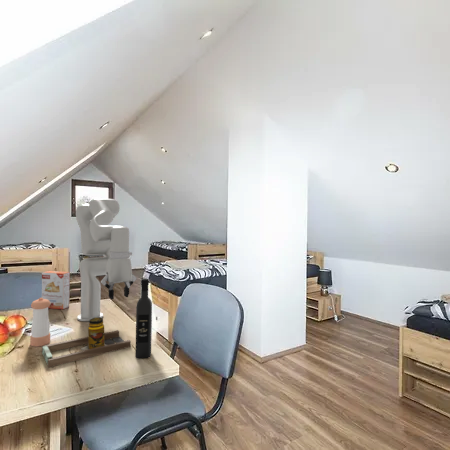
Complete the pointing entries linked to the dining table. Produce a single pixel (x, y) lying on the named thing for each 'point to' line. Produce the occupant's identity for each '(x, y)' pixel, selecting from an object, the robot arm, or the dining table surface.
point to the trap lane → (75, 356)
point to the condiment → (95, 333)
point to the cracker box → (56, 288)
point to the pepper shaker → (40, 323)
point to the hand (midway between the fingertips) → (118, 297)
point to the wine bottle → (143, 323)
